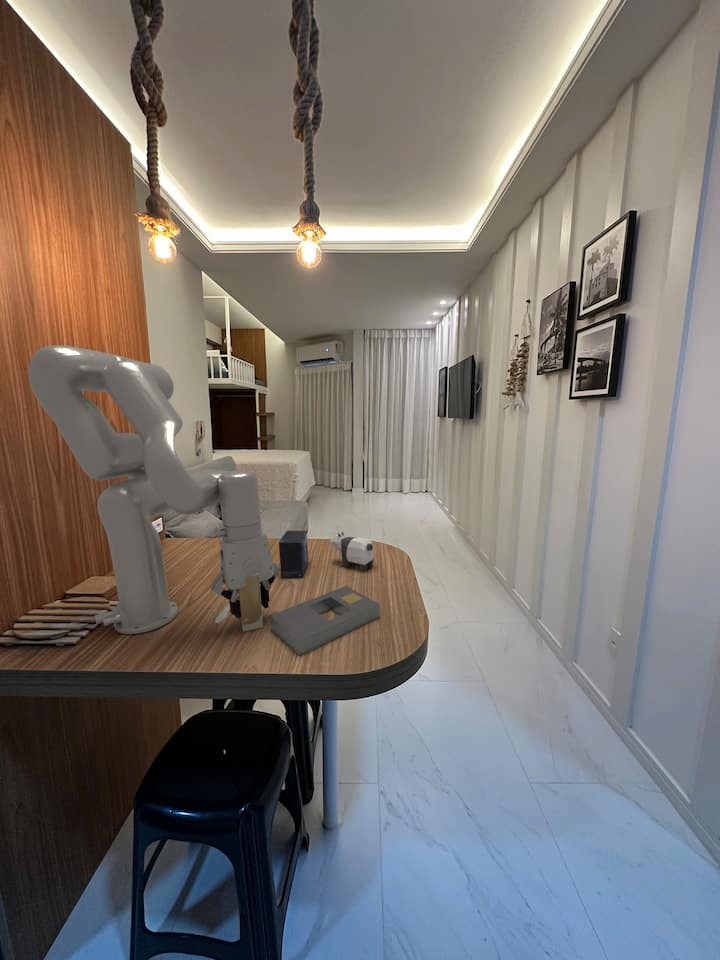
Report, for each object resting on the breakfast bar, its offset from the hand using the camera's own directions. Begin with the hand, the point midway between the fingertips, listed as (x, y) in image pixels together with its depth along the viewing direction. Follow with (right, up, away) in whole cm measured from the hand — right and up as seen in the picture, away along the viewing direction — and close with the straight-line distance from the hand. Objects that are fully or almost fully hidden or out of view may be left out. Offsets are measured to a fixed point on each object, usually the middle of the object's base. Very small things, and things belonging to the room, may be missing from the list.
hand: (250, 610), depth 81 cm
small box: (+5, +2, +27) cm, 28 cm away
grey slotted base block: (+16, -3, -1) cm, 17 cm away
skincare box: (0, -3, +1) cm, 3 cm away
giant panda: (+22, +3, +29) cm, 36 cm away
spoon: (-7, -2, +9) cm, 12 cm away
